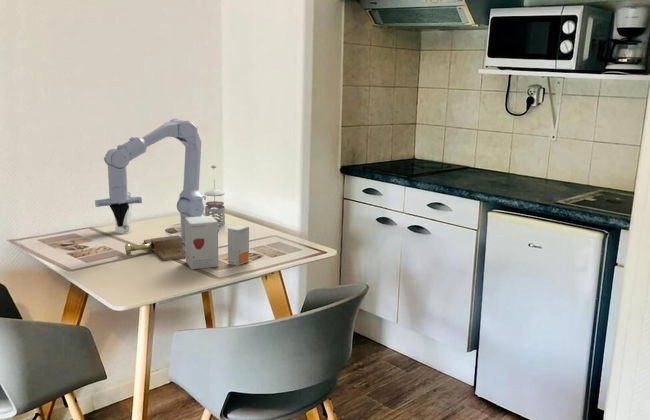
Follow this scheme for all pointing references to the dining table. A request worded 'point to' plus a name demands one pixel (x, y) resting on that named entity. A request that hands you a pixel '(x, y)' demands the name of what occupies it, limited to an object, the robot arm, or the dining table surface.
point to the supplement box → (201, 242)
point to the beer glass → (125, 221)
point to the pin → (137, 247)
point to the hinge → (167, 247)
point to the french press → (215, 204)
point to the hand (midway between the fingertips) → (120, 225)
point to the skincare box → (238, 245)
